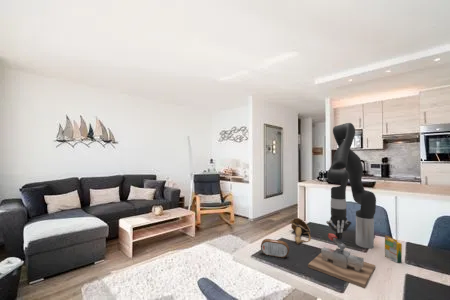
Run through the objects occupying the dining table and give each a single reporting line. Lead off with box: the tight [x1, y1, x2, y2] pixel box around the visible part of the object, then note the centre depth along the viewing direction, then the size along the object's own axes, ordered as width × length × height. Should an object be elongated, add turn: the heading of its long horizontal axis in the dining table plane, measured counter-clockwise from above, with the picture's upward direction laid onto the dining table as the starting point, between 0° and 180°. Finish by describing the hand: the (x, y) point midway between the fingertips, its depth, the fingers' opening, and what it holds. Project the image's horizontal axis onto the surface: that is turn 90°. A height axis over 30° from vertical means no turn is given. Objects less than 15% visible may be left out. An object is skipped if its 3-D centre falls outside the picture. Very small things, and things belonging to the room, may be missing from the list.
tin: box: [260, 238, 290, 259], centre depth 121 cm, size 15×3×8 cm, turn 71°
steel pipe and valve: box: [320, 246, 365, 272], centre depth 109 cm, size 6×18×6 cm, turn 47°
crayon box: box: [384, 235, 403, 264], centre depth 117 cm, size 7×3×12 cm, turn 11°
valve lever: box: [327, 233, 346, 252], centre depth 115 cm, size 15×3×4 cm, turn 176°
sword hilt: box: [289, 217, 312, 245], centre depth 146 cm, size 10×24×15 cm
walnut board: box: [307, 252, 376, 289], centre depth 109 cm, size 22×24×2 cm
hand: (338, 238), depth 119 cm, fingers closed
